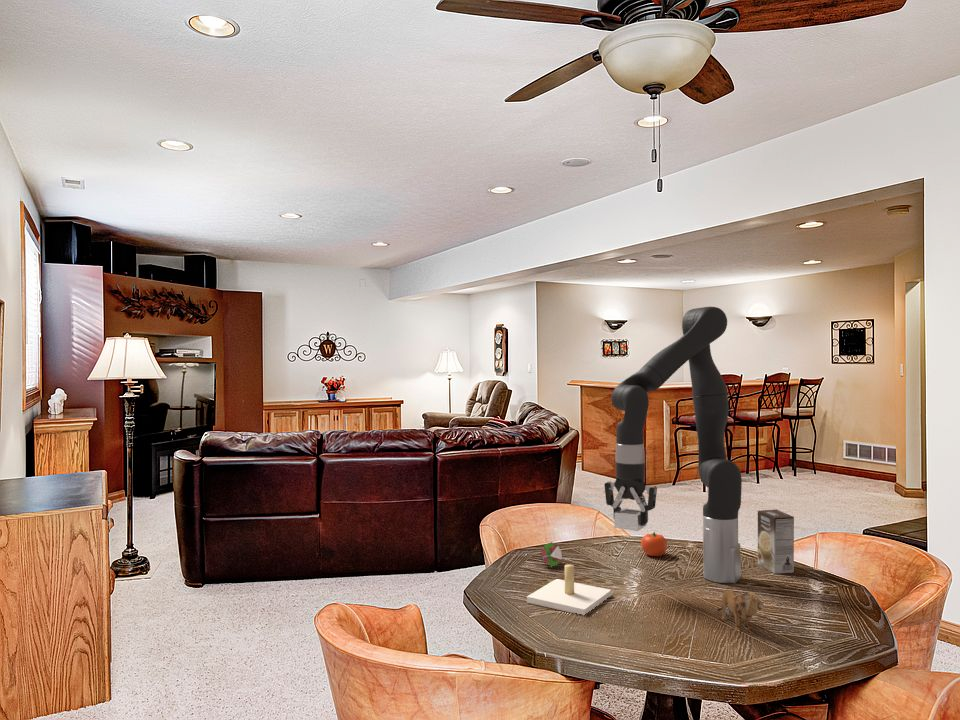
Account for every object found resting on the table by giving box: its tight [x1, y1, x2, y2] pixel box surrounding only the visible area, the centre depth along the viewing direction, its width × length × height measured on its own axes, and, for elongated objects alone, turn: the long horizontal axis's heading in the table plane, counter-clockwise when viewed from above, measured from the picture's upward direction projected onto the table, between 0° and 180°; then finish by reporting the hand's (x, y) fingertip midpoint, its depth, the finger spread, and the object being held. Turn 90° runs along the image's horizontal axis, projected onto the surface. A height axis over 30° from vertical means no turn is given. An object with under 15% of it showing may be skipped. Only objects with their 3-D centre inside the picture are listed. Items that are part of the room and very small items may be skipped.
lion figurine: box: [716, 589, 765, 632], centre depth 157 cm, size 15×5×9 cm, turn 16°
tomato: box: [640, 531, 668, 557], centre depth 210 cm, size 8×8×7 cm
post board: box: [526, 563, 612, 616], centre depth 174 cm, size 16×16×8 cm
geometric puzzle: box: [538, 541, 564, 568], centre depth 201 cm, size 7×7×8 cm
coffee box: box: [757, 509, 795, 574], centre depth 196 cm, size 9×6×16 cm
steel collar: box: [613, 507, 648, 532], centre depth 179 cm, size 6×6×4 cm
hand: (630, 523), depth 179 cm, fingers closed on steel collar, 6 cm apart
